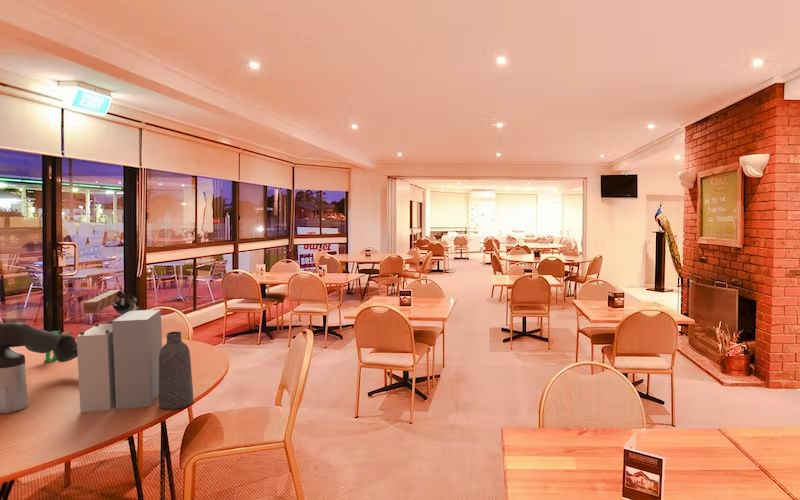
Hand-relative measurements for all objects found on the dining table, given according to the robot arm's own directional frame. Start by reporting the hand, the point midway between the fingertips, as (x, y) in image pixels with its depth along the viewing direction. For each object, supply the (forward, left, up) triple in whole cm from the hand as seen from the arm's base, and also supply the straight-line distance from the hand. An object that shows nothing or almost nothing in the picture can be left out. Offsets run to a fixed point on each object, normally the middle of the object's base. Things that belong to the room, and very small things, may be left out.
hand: (112, 293), depth 197 cm
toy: (+30, +64, -41) cm, 82 cm away
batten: (-9, -4, -4) cm, 10 cm away
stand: (-9, -12, -41) cm, 44 cm away
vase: (-10, -35, -41) cm, 55 cm away
